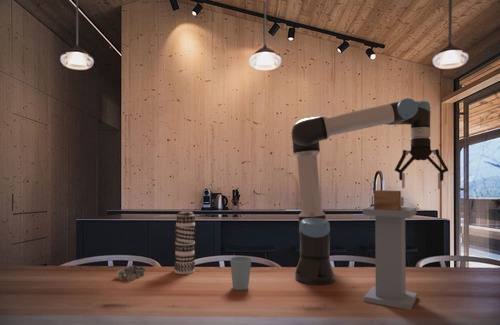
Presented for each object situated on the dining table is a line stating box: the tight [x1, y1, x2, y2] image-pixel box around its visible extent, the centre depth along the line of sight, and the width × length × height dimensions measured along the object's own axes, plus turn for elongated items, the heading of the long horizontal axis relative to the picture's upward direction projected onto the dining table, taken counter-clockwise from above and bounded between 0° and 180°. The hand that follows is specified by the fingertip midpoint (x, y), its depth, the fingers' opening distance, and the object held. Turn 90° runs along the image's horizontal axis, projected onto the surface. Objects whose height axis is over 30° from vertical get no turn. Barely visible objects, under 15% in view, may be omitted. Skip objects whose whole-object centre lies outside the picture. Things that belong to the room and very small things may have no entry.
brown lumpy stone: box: [116, 264, 147, 282], centre depth 141 cm, size 11×8×4 cm
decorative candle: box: [173, 210, 197, 275], centre depth 151 cm, size 9×9×25 cm
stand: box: [362, 205, 418, 311], centre depth 119 cm, size 14×17×30 cm
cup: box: [230, 256, 252, 291], centre depth 128 cm, size 8×8×10 cm
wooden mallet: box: [373, 189, 405, 211], centre depth 123 cm, size 26×7×6 cm, turn 149°
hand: (420, 188), depth 150 cm, fingers open, 13 cm apart
